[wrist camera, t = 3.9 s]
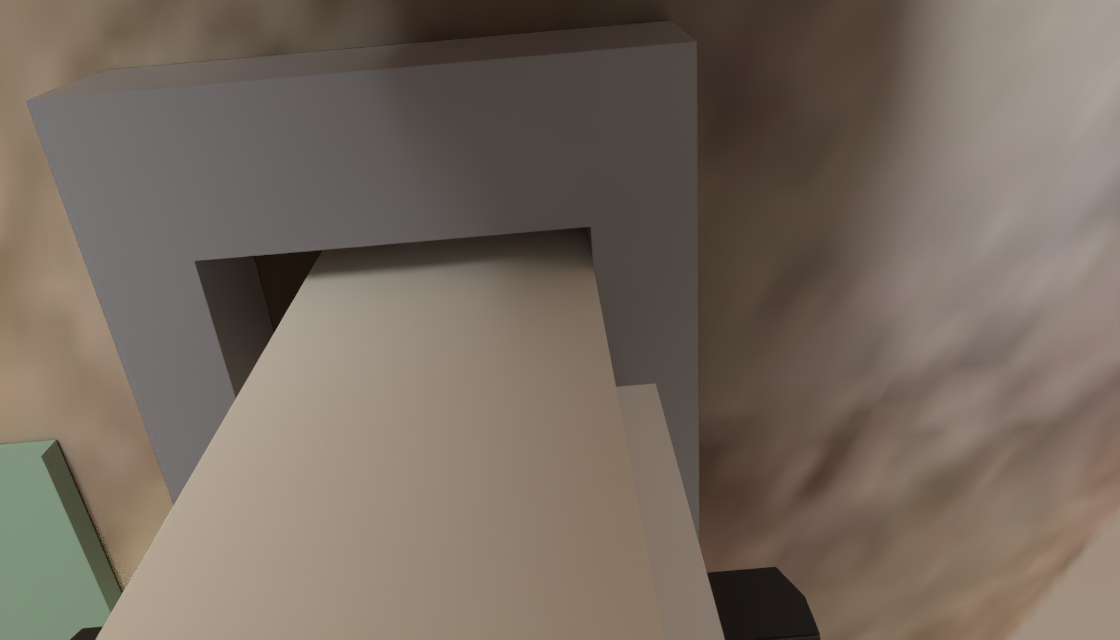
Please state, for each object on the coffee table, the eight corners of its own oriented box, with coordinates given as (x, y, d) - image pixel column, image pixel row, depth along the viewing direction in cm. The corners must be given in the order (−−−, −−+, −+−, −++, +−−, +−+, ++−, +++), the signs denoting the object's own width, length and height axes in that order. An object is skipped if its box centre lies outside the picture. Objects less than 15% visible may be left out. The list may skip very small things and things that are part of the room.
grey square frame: (102, 70, 15) (25, 100, 12) (671, 20, 14) (697, 41, 12) (266, 581, 20) (233, 667, 18) (680, 546, 20) (699, 627, 18)
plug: (325, 243, 16) (-206, 1153, 4) (584, 221, 16) (746, 1071, 4) (372, 455, 18) (103, 1428, 7) (599, 436, 18) (730, 1374, 7)
